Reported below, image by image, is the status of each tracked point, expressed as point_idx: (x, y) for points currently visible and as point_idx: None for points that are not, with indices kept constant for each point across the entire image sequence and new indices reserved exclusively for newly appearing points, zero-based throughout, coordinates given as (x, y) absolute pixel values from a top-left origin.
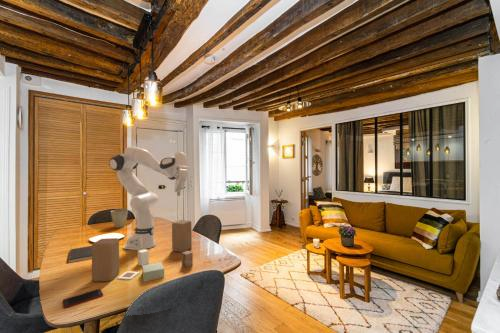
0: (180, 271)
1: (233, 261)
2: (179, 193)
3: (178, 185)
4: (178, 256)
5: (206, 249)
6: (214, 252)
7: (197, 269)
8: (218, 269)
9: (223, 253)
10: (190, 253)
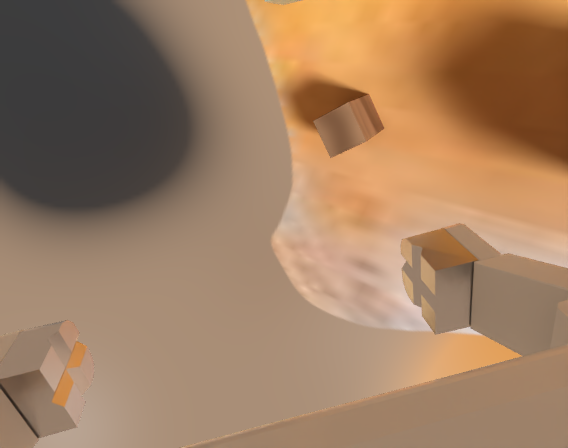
0: (313, 81)
1: (327, 300)
2: (420, 294)
3: (268, 435)
4: (524, 90)
5: None
6: None
7: (307, 154)
8: (280, 225)
9: None
10: (325, 145)
